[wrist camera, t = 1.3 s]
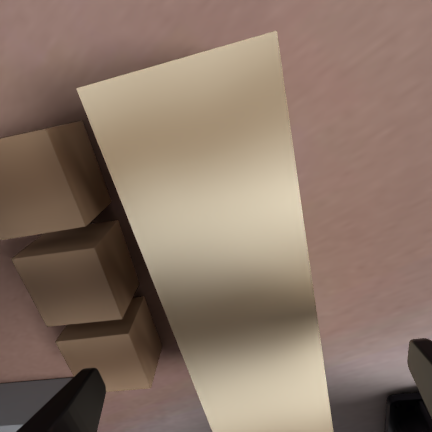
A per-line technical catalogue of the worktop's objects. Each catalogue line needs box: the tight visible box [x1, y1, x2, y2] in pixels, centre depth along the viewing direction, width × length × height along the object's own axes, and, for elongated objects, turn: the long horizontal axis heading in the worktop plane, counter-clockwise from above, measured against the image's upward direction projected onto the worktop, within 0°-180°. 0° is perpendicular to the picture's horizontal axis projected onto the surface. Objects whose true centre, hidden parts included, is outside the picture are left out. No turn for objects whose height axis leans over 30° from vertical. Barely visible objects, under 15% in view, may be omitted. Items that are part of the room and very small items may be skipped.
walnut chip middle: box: [11, 220, 139, 327], centre depth 15 cm, size 4×4×3 cm
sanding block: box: [76, 31, 333, 432], centre depth 13 cm, size 16×5×6 cm, turn 14°
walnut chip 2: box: [55, 297, 162, 392], centre depth 17 cm, size 4×4×3 cm
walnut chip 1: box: [0, 121, 112, 240], centre depth 13 cm, size 4×4×3 cm
